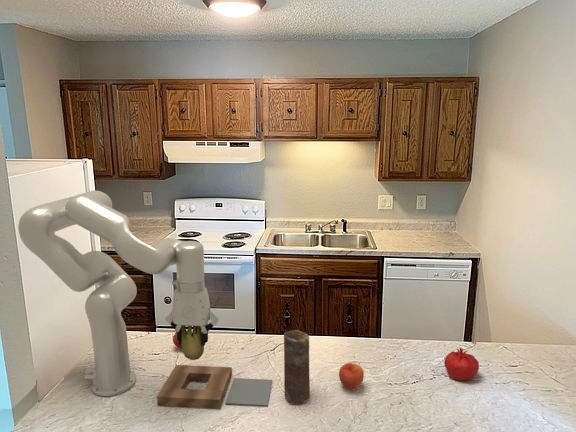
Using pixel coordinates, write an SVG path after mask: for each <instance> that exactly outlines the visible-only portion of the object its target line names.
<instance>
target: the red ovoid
mask: <svg viewBox="0 0 576 432" xmlns="http://www.w3.org/2000/svg"><path fill="white" fill-rule="evenodd" d="M172 343H173V344H174V346H175V347H177V348H179V349H180V350H182V345H179V341H177V332H176V331H175V333H174V334H173V338H172Z"/></svg>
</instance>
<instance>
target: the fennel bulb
mask: <svg viewBox="0 0 576 432" xmlns="http://www.w3.org/2000/svg"><path fill="white" fill-rule="evenodd" d="M181 329H182V342H181V344H182V349H181V351H182V354H183V355H184V358H186V359H188V360H190V361H196V360H199V359H200V358H201V357H202V356H203V354H204V351H205V345H204V346H201V333H202V329H201V327H200V326H185V325H181Z"/></svg>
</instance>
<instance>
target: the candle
mask: <svg viewBox="0 0 576 432" xmlns="http://www.w3.org/2000/svg"><path fill="white" fill-rule="evenodd" d="M283 354H284V355H283V362H284V363H283V366H284V367H283V368H284V370H283V371H284V373H283V376H284V377H283V378H284V381H283V382H284V383H283V384H284V387H283V388H284V398H285V399H286V401H287V402H288V403H289V404H290V405H302V404H303V403H305V402H306V401H308V400H309V398H310V394H311V391H310V389H311V387H310V386H311V384H310V383H311V382H310V379H311V378H310V335H308V334H307V333H306V332H303V331H301V330H299V329H295V330H294V329H293V330H289V331H285V332H284V334H283Z"/></svg>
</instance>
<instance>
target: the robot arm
mask: <svg viewBox="0 0 576 432" xmlns="http://www.w3.org/2000/svg"><path fill="white" fill-rule="evenodd" d="M75 225H78V226H79V227H81V228H82V229H85V230H86V231H88V232H90V233H92V234H94V235H95V236H98V237H100V238H101V239H102V240H105V241H106V242H109V243H110V244H111V246H112V248H113V250H114V251H115V253H116V254H118V256H119V257H120V259H122V260H123V261H124V262H125V263H127V264H128V265H130V266H132V267H133V268H136V269H138V270H140V271H141V272H143V273H146V274H149V275H158V274H161V273H163V272H165V271H166V270H168V269H169V268H170V267H171V266H173V265H176V266H175V267H176V279H175V280H171V281H172V282H171V283H172V284H171V285H172V286H175V287H176V288H175V289H174V292H173V295H172V296H173V297H172V310H171V312H170V313H168V314H167V316H166V317H165V321H166V322H167V323H168V324H170V326H171V327H172V328H173V329H174V331H175V333H176V332H177V341H179V345H182V344H181V342H182V329H181V325H185V326H186V327H187V326H192V327H193V326H200V327H201V329H202V333H201V346H204V347H205V346H206V343H208V342H209V331H210V330H212V328H213V327H215V326H216V325H217V324H218V323H219V322H220V319H219V318H218V317H217V316H216V314H215V313H213V311H211V303H210V297H209V293H208V288H207V287H205V286H206V284H205V259H204V258H205V254H204V253H205V252H204V251H205V250H204V245H203V244H202V243H201V242H199V241H196V240H187V241H184V240H180V239H176V238H170V237H165V238H161V239H160V240H158V241H156V242H155V243H153V244H151V245H150V244H148V243H146V242H144V241H142V240H140V238H138V237H135V235H134V234H133V233H132V232H131V230H130V228H129V227H130V218H129V216H127V215H125V214H124V213H122V212H120V211H118V210H117V209H114V208H113V201H112V199H111V197H109V195H108V194H107V193H106V192H103V191H101V190H90V191H86V192H83V193H79V194H78V193H77V195H73V196H69V197H65V198H62V199H58V200H57V199H56V200H54V201H51V202H46V203H43V204H39V205H36V206H34V207H31V208H29V209H28V210H26V211H25V212H23V213H22V215H21V216H20V219H19V221H18V226H17V227H18V228H17V229H18V235H19V238H20V240H21V241H22V244H24V246H25V247H26V248H27V249H28V250H29V251H30V252H31V253H33V255H35V256H36V257H38V258H39V259H40V260H41V261H42V262H43V263H44V264H45V265H46V266H47V267H48V268H49V269H50V270H51V271H52V272H53V273H54V274H55V275H56V276H57V277H58V279H60V280H61V281H62V282H63V283H64V284H65V285H66V286H67V287H68V288H69V289H70V290H72V291H74V292H76V293H81V292H85V291H87V290H89V289H90V288H92V287H94V286H95V285H97V286H98V287H97V288H96V289H94V290H93V291H91V293H90V294H89V295H88V296H87V298H86V300H85V303H84V310H85V314H86V317H87V319H88V323H89V327H90V334H91V341H92V348H93V350H92V351H93V358H94V368H95V369H94V368H86V369H85V370H84V379H85V380H91V381H92V382H91V391H92V392H93V394H95V395H97V396H99V397H113V396H117V395H121V394H123V393H125V392H127V391H129V390H130V389H131V388H133V386H134V385H135V384H136V383H137V375H136V373H135V372H134V371H132V370H131V367H130V355H129V344H128V334H127V327H126V326H127V325H126V322H125V321H124V318H123V317H122V311H123V310H124V309H125V308H126V307H127V306H128V305H130V304H131V303H132V302H133V301H134V299H135V298H136V296H137V294H138V292H137V291H138V289H137V286H136V285H137V284H136V282H135V281H134V280H133V279H132V278H131V276H130V275H129V274H127V272H126V271H124V269H123V268H122V267H121V266H120V265H119V264H118V262H116V261H115V260H114V259H113V258H112V257H111V256H110V255H108V254H107V253H106V252H103V251H99V250H90V251H88V252H86V253H84V254H83V253H81V252H80V251H79V250H78V249H77V248H76V246H74V245H73V244H72V243H71V242H70V241H68V240H67V239H65V238H62V237H60V236H59V235H57V234H55V233H56V232H58V231H61V230H64V229H66V228H69V227H72V226H75ZM209 320H210V322H209ZM208 322H209V323H208Z"/></svg>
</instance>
